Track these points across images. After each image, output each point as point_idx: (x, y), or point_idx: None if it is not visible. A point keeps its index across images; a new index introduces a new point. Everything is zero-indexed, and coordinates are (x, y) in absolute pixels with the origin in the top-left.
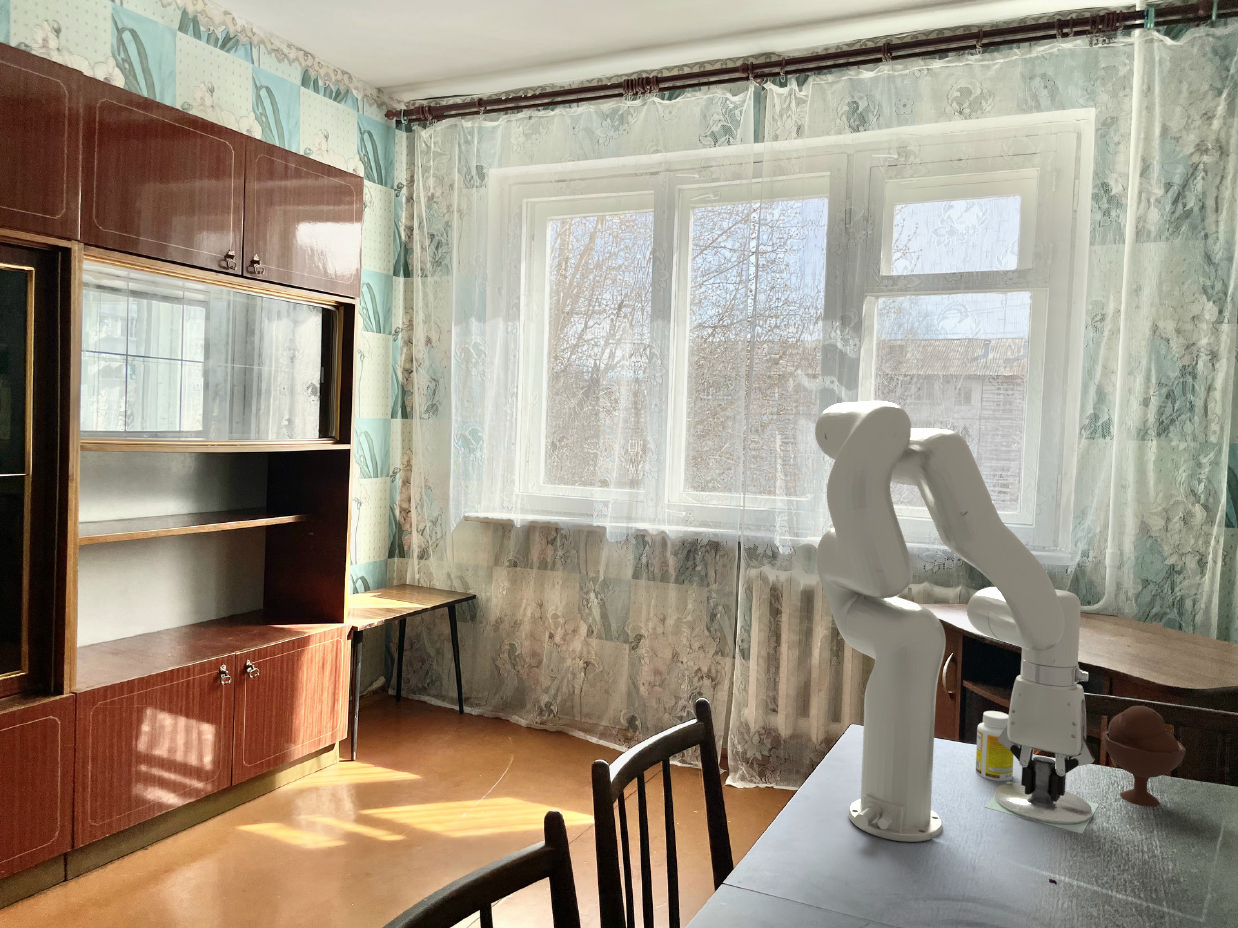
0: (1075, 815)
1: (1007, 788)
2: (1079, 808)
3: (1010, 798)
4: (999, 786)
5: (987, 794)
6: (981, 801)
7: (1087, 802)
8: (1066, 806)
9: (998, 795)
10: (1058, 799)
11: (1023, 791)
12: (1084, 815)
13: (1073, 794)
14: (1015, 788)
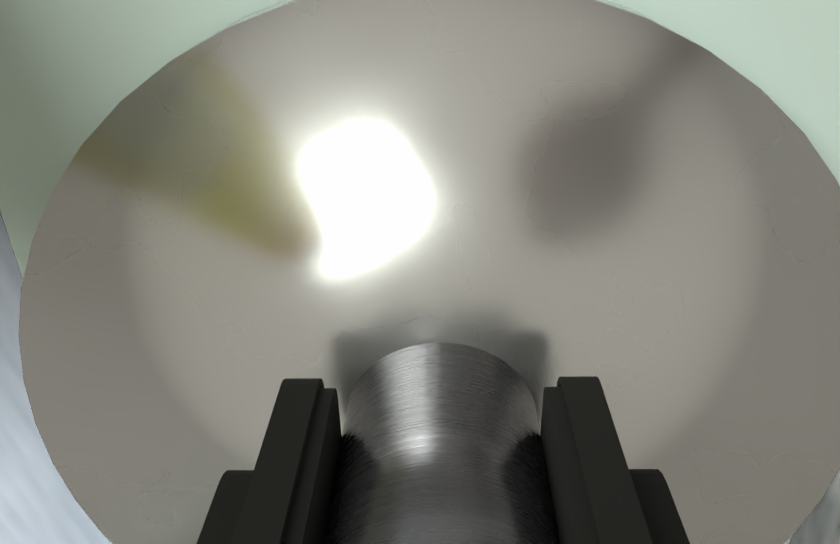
0: (728, 536)
1: (101, 367)
2: (762, 399)
3: None
4: (27, 368)
5: (8, 390)
6: (61, 526)
7: (834, 11)
8: (650, 424)
9: (133, 541)
10: (564, 315)
11: (239, 343)
12: (799, 498)
13: (699, 50)
14: (151, 319)
